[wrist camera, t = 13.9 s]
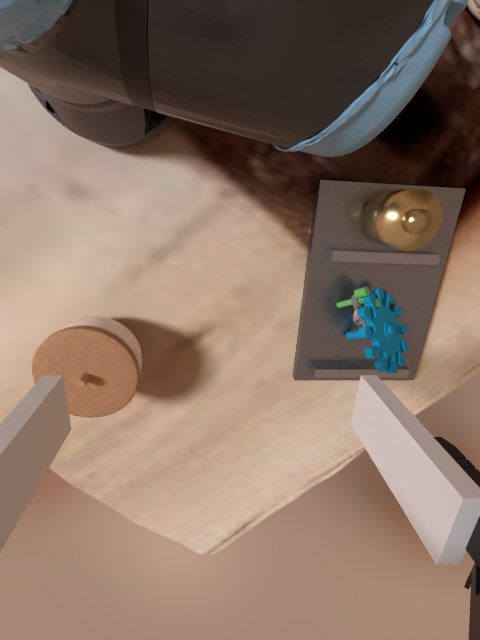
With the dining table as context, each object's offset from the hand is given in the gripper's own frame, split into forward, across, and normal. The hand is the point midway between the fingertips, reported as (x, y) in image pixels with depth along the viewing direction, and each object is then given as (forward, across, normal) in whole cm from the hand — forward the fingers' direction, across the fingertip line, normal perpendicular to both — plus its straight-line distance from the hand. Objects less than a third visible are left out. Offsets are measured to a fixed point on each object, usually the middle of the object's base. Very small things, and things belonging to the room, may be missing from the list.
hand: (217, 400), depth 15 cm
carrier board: (+27, +20, -2) cm, 33 cm away
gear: (+26, +20, -5) cm, 33 cm away
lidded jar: (+27, -13, -10) cm, 32 cm away
